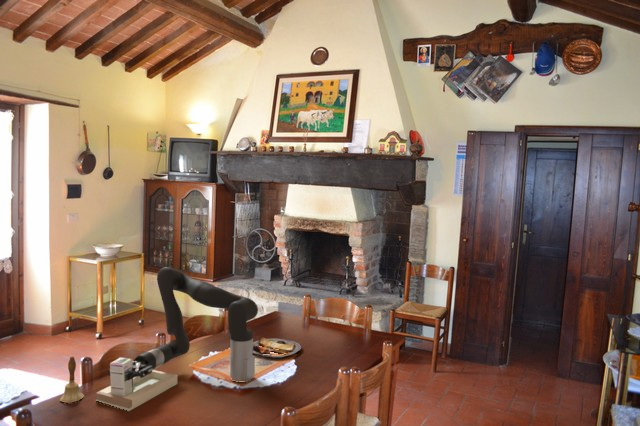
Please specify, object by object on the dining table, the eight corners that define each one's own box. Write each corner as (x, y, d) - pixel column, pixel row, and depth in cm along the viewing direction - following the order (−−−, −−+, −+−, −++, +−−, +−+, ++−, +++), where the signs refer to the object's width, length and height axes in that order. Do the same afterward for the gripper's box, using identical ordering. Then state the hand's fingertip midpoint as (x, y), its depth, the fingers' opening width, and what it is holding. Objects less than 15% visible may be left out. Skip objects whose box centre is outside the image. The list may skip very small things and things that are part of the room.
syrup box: (124, 402, 184) (124, 364, 182) (110, 400, 185) (109, 362, 184) (133, 395, 189) (133, 358, 188) (119, 394, 190) (119, 356, 189)
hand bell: (79, 391, 194) (78, 351, 193) (87, 399, 188) (86, 357, 187) (56, 398, 188) (55, 356, 187) (63, 406, 182) (63, 363, 181)
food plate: (239, 354, 237) (239, 346, 237) (262, 339, 258) (263, 333, 258) (287, 364, 228) (287, 356, 227) (307, 348, 249) (307, 341, 249)
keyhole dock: (146, 376, 209) (146, 368, 209) (177, 383, 203) (177, 375, 203) (96, 401, 186) (95, 392, 186) (128, 411, 179) (128, 401, 179)
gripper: (135, 348, 202) (103, 362, 187) (163, 354, 196) (132, 369, 181) (135, 366, 202) (103, 381, 187) (163, 373, 196) (132, 389, 182)
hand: (118, 375), depth 184 cm, fingers open, 8 cm apart
